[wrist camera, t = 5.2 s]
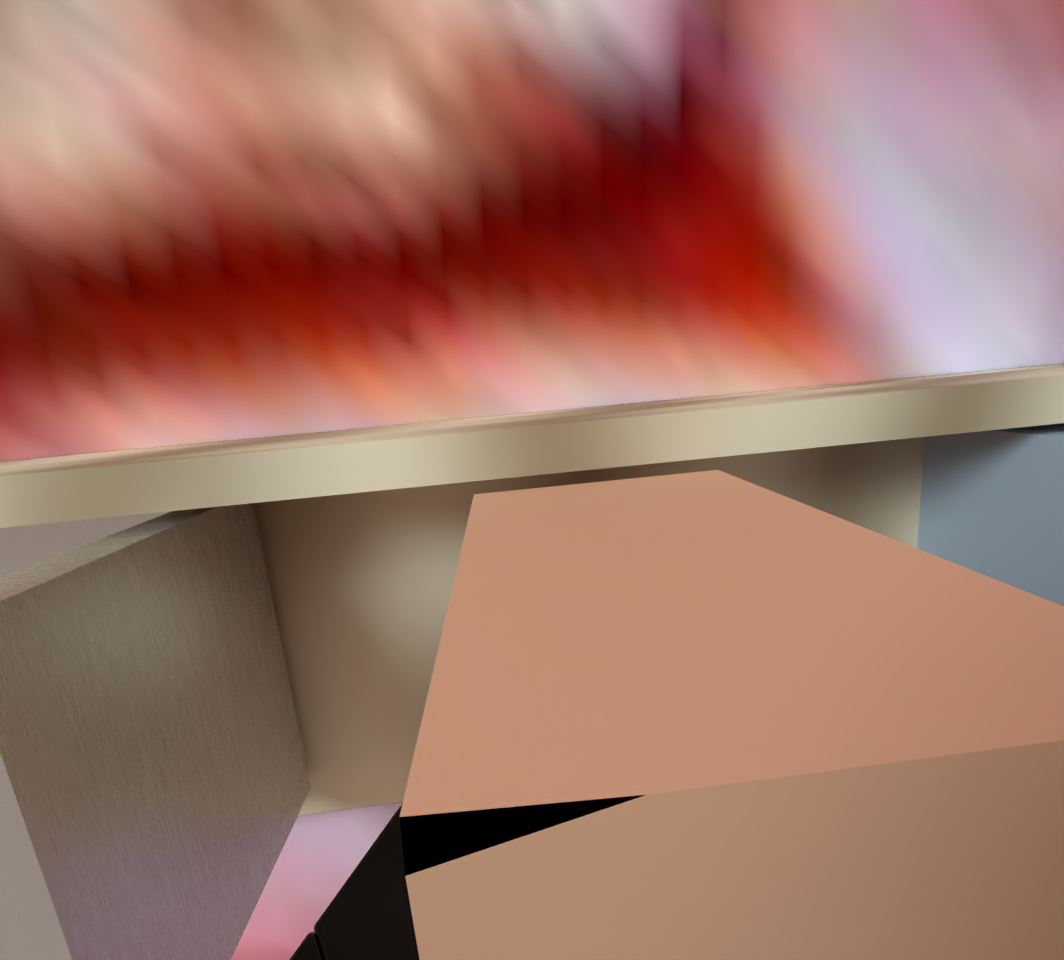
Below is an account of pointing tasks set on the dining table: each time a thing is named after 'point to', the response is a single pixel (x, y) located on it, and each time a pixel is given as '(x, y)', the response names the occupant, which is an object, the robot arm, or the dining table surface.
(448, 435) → the beige piece
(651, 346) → the dining table surface
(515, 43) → the dining table surface
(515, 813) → the terracotta book
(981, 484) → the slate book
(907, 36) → the dining table surface
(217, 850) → the bookend
